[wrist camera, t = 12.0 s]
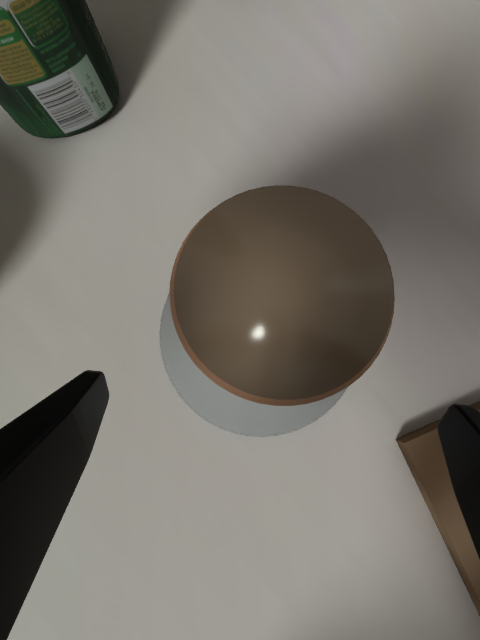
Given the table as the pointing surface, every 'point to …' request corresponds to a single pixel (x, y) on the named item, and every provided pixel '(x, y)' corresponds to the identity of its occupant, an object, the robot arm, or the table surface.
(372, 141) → the table surface
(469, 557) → the wooden bookend
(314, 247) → the terracotta pot
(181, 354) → the ceramic saucer
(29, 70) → the coffee jar
